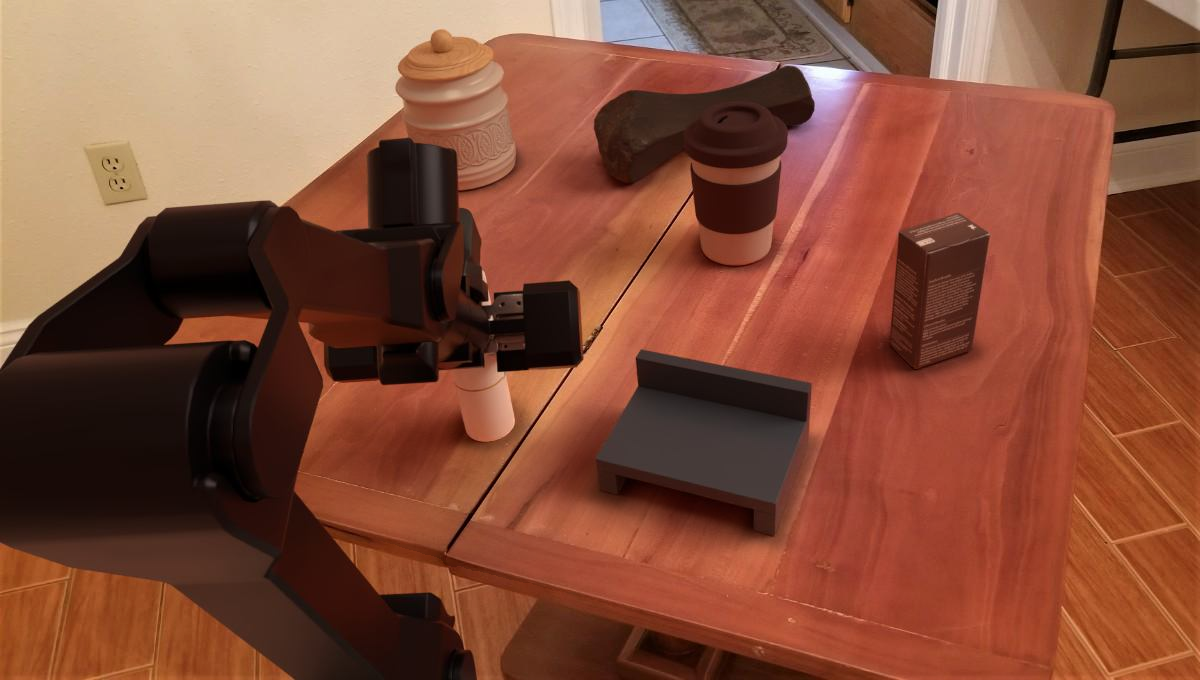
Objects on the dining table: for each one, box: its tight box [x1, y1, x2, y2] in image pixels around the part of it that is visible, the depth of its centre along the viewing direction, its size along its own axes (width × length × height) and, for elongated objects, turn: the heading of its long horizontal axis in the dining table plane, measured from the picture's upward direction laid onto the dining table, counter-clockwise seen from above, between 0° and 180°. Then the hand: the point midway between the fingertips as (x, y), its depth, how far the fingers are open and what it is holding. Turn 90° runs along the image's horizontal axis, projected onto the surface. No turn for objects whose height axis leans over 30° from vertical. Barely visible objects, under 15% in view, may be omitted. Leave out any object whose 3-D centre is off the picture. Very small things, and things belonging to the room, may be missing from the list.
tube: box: [450, 269, 516, 443], centre depth 76 cm, size 4×4×15 cm
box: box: [888, 212, 991, 370], centre depth 79 cm, size 6×4×12 cm
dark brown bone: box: [593, 65, 816, 185], centre depth 115 cm, size 11×10×28 cm
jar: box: [394, 28, 517, 191], centre depth 113 cm, size 13×13×18 cm
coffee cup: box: [684, 101, 789, 266], centre depth 94 cm, size 10×10×15 cm
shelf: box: [594, 348, 813, 537], centre depth 72 cm, size 10×14×6 cm
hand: (477, 345), depth 77 cm, fingers closed on tube, 4 cm apart
